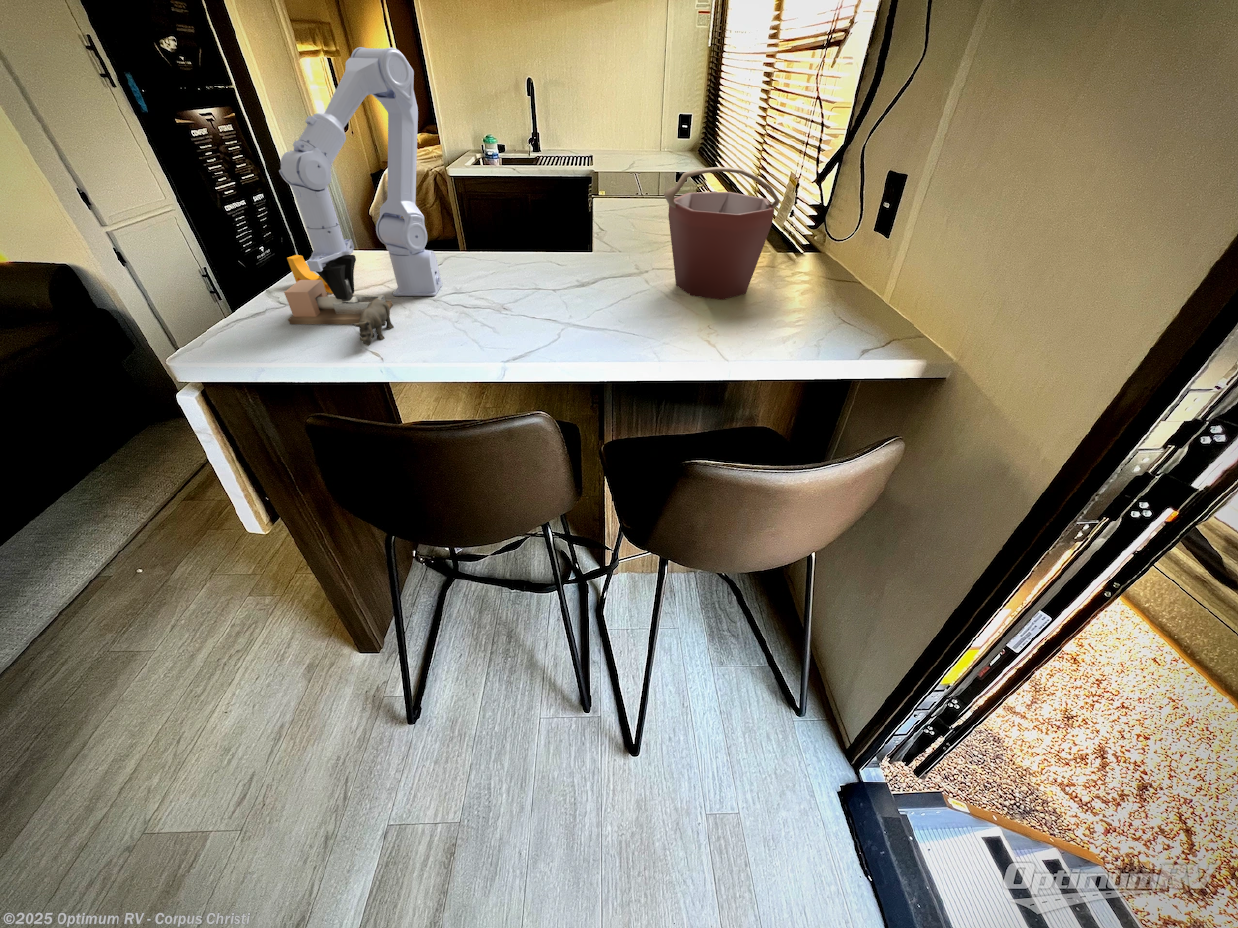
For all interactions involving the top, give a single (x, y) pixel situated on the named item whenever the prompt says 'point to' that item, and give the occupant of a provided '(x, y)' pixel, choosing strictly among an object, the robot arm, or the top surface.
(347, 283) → the bolt
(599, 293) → the top surface
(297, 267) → the orange piece
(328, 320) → the board
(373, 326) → the rhino figurine
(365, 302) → the channel
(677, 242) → the bucket
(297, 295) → the socket
